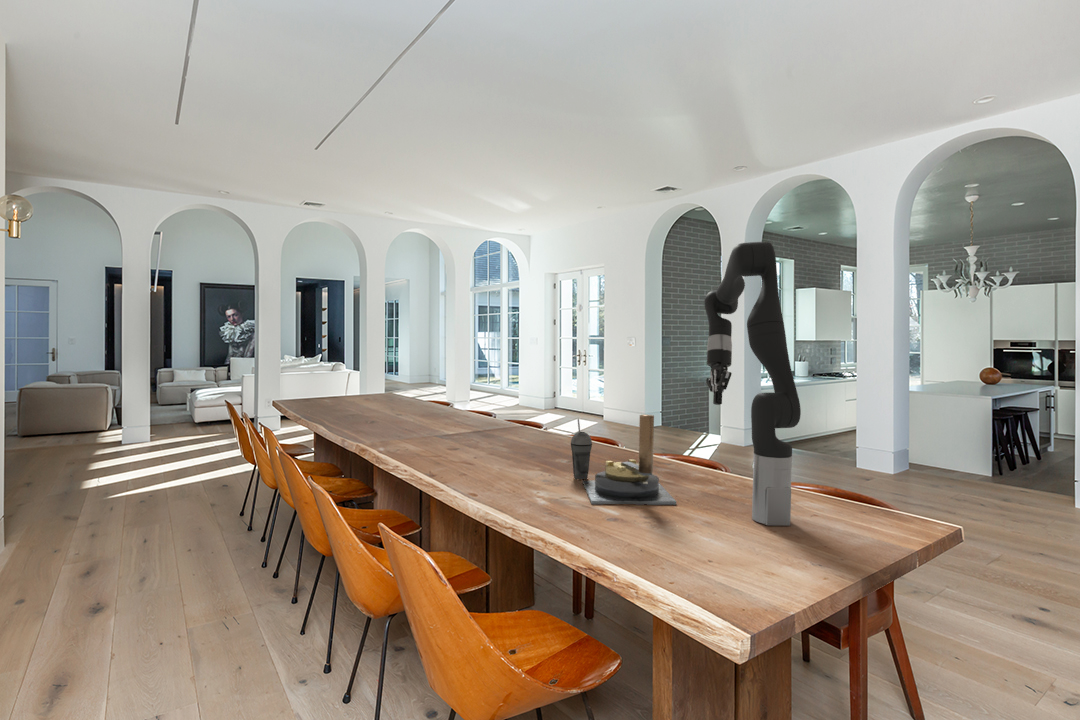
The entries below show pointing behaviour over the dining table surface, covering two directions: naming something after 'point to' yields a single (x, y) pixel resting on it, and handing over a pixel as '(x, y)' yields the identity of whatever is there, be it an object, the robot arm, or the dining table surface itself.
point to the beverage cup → (581, 454)
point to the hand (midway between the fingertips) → (717, 404)
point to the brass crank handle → (645, 466)
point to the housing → (627, 491)
